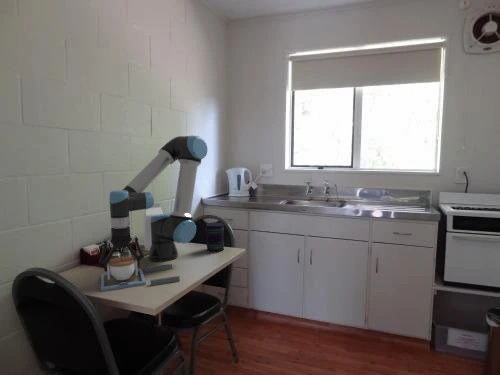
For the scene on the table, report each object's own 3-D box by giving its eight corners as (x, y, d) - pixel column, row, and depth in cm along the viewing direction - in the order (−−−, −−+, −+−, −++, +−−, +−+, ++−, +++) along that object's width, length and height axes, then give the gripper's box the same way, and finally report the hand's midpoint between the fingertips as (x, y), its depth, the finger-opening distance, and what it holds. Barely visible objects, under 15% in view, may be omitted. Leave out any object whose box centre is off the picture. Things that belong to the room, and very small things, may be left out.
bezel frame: (141, 271, 159) (141, 267, 159) (145, 284, 143) (145, 279, 143) (101, 276, 152) (101, 272, 152) (100, 291, 136) (100, 286, 136)
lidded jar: (107, 276, 149) (105, 255, 148) (131, 271, 155) (130, 251, 154) (113, 284, 140) (112, 262, 139) (139, 278, 146) (138, 257, 145)
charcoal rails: (171, 267, 163) (171, 263, 163) (179, 281, 147) (179, 276, 146) (146, 271, 159) (145, 267, 159) (150, 285, 142) (150, 280, 142)
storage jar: (208, 247, 198) (207, 222, 197) (225, 247, 198) (224, 222, 196) (205, 252, 188) (204, 226, 187) (223, 252, 188) (222, 226, 186)
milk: (145, 249, 195) (143, 204, 192) (143, 244, 206) (141, 202, 203) (166, 247, 200) (165, 203, 197) (163, 242, 210) (162, 200, 208)
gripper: (90, 231, 137) (93, 283, 139) (149, 225, 146) (151, 275, 149) (90, 227, 144) (93, 277, 146) (147, 222, 153) (149, 269, 155)
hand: (122, 276), depth 147 cm, fingers closed on lidded jar, 11 cm apart
